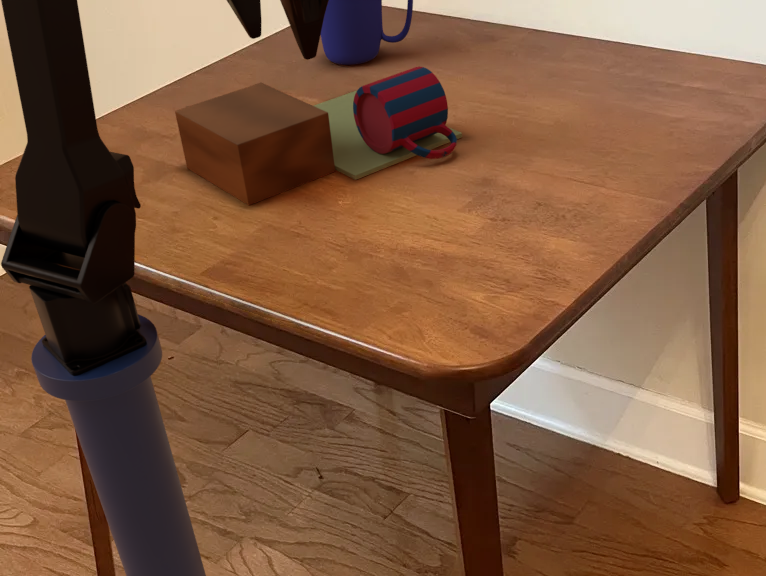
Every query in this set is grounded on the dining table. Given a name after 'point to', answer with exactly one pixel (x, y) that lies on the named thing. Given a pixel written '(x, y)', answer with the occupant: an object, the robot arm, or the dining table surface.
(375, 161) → the mat
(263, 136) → the step
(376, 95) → the cup
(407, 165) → the dining table surface
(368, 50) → the mug
